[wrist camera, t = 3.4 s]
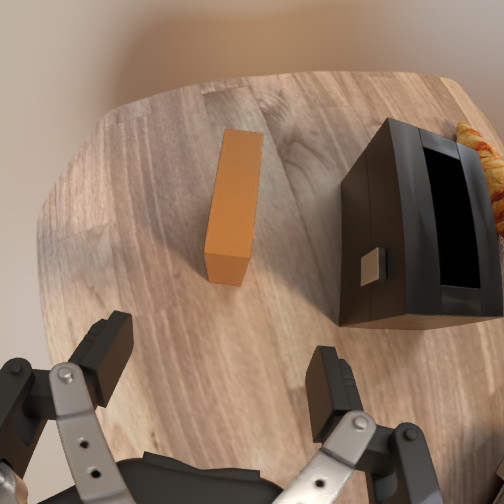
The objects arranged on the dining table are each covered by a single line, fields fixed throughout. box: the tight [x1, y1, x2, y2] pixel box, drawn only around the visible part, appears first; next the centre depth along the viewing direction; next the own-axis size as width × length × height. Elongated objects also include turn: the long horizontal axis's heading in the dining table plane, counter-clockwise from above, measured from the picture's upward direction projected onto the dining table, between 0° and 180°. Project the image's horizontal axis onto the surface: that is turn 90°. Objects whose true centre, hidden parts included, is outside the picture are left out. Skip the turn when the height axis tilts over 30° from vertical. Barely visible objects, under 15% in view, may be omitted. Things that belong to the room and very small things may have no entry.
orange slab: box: [204, 129, 264, 286], centre depth 26 cm, size 3×10×10 cm, turn 174°
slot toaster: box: [339, 117, 504, 330], centre depth 26 cm, size 12×16×12 cm
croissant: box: [456, 121, 504, 238], centre depth 34 cm, size 21×10×8 cm, turn 12°
